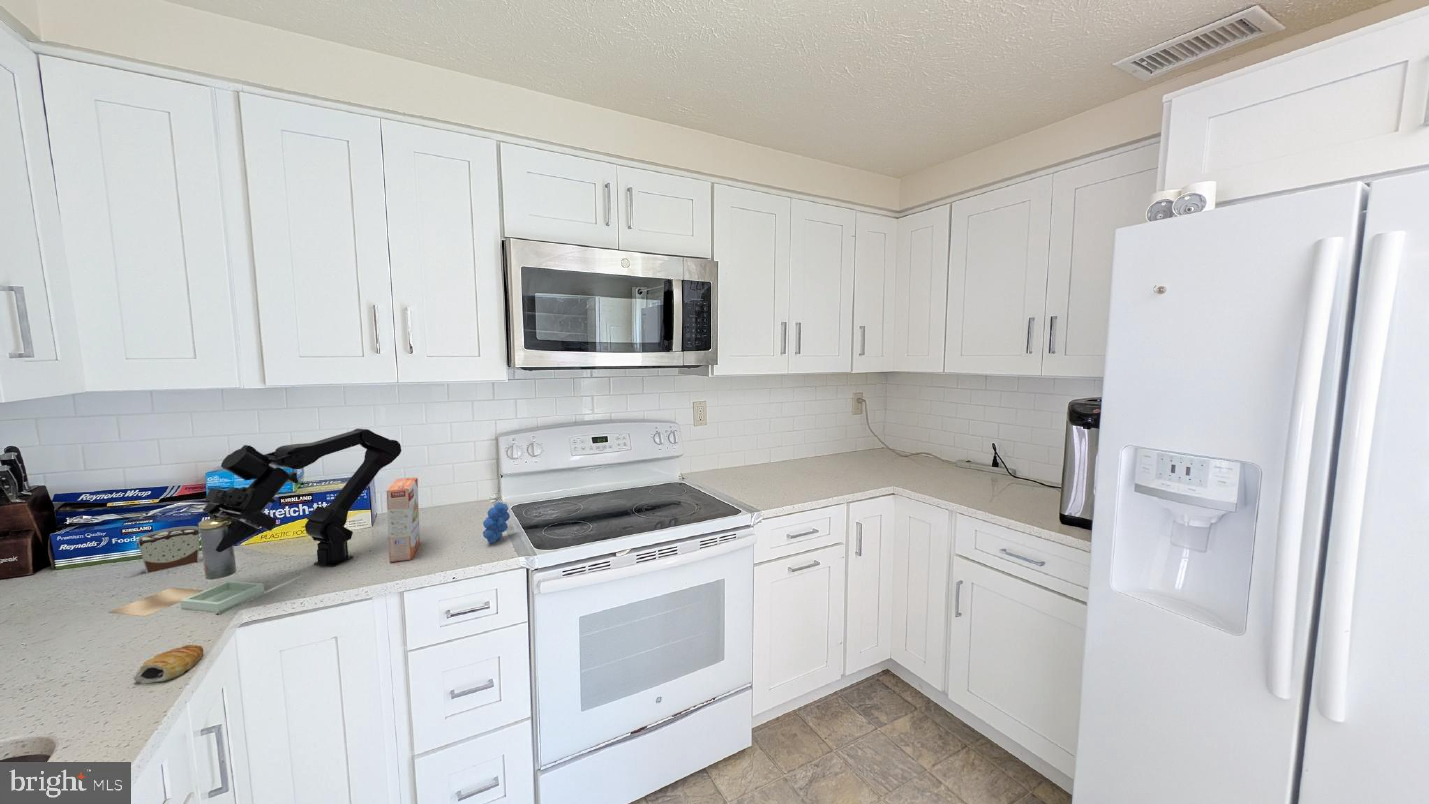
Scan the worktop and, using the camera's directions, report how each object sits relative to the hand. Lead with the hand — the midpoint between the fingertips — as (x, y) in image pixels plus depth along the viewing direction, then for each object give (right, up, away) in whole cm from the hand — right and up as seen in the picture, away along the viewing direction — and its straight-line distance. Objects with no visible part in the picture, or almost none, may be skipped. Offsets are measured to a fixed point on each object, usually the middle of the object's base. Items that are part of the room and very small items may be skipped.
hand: (210, 549), depth 116 cm
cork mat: (-14, -13, +2) cm, 19 cm away
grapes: (+47, -10, +42) cm, 64 cm away
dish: (+1, -13, +3) cm, 13 cm away
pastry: (+15, -16, -22) cm, 31 cm away
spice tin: (0, -6, +2) cm, 7 cm away
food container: (-32, -11, +22) cm, 40 cm away
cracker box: (+25, -10, +32) cm, 42 cm away
